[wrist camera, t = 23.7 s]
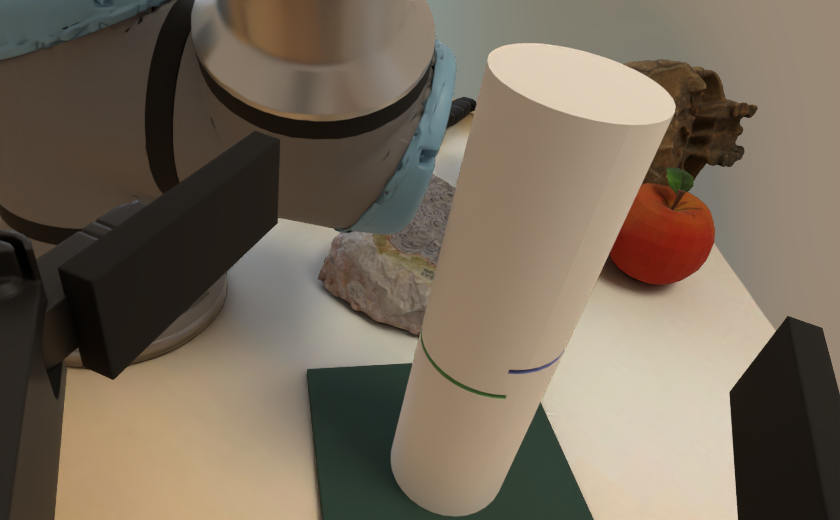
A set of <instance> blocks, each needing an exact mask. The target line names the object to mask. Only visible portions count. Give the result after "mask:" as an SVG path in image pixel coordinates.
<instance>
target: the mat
mask: <svg viewBox="0 0 840 520" xmlns="http://www.w3.org/2000/svg"><path fill="white" fill-rule="evenodd" d="M412 364H413V363H409V364H391V365H373V366H356V367H338V368H320V369H308V370H307V381H308V390H309V400H310V409H311V419H312V428H313V438H314V447H315V457H316V466H317V475H318V485H319V494H320V504H321V513H322V520H594V519H593V517H592V515H591V513H590V511H589V508H588V506H587V504H586V502H585V499H584V497H583V495H582V493H581V491H580V488H579V486H578V484H577V482H576V480H575V477H574V475H573V473H572V471H571V469H570V466H569V464H568V462H567V460H566V457H565V455H564V453H563V451H562V449H561V446H560V444H559V442H558V440H557V438H556V435H555V433H554V431H553V429H552V427H551V424H550V422H549V420H548V418H547V415H546V413H545V411H544V409H543V407H542V404H541V402H540V404H539V406H538V408H537V410H536V413H535V415H534V417H533V419H532V421H531V423H530V426H529V428H528V430H527V432H526V434H525V436H524V439H523V441H522V443H521V445H520V447H519V449H518V451H517V454H516V456H515V458H514V460H513V462H512V464H511V467H510V469H509V471H508V473H507V475H506V477H505V480H504V482H503V484H502V486H501V488H500V490H499V492H498V494H497V495H496V497H495V498H494V500H493V501H492V502H491V503H490V504H489V505H487V506H486V507H485V508H483V509H482V510H480V511H478V512H476V513H473V514H469V515H465V516H444V515H440V514H437V513H433V512H431V511H428V510H426V509H424V508H422V507H420V506H419V505H418V504H416V503H415V502H414V501H412V500H411V499H410V498H409V497H408V496H407V495H406V494H405V493H404V492H403V491H402V489H401V488H400V486H399V485H398V483H397V481H396V479H395V477H394V474H393V472H392V467H391V449H392V445H393V441H394V437H395V433H396V429H397V425H398V421H399V417H400V413H401V408H402V404H403V400H404V396H405V392H406V388H407V384H408V380H409V376H410V372H411V368H412Z"/></svg>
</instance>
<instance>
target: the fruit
mask: <svg viewBox="0 0 840 520" xmlns="http://www.w3.org/2000/svg"><path fill="white" fill-rule="evenodd" d="M667 177H668V182H669V185H670V187H669V186H665V185H660V184H655V183H646V184H643V185H641V186H640V189H639V191H638V193H637V195H636V197H635V199H634V201H633V204H632V206H631V208H630V210H629V212H628V214H627V217H626V219H625V221H624V223H623V225H622V227H621V229H620V232H619V234H618V236H617V238H616V240H615V242H614V245H613V247H612V249H611V251H610V253H609V255H610V257H611V259H612V261H613V262H614V264H615V265H616V266H617V267H618V268H619V269H620V270H622V271H623V272H624V273H626V274H627V275H629V276H631V277H633V278H635V279H637V280H640V281H643V282H646V283H649V284H657V285H664V284H670V283H674V282H678V281H681V280H683V279H684V278H686V277H688V276H690V275H691V274H693V273H694V272H696V271H697V270H699V268H700V267H701V266H702V265H703V263H704V262H705V261H706V260H707V258H708V256H709V254H710V251H711V249H712V246H713V244H714V235H715V228H714V223H713V219H712V216H711V212H710V210H709V209H708V207H707V206H706V205H705V204H704V203H703V202H702V201H701V200H699V199H698V198H697V197H695V196H694V195H692V194H690V193H689V192H688V191H689V190H690V189H691V188H692V187H693V177H692V176H691V175H690V174H689V173H688V172H686V171H684V170H681V169H679V168H667Z"/></svg>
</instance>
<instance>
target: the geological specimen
mask: <svg viewBox="0 0 840 520" xmlns="http://www.w3.org/2000/svg"><path fill="white" fill-rule="evenodd" d="M455 190H456V189H455V188H453V187H452V186H450V185H449V184H448V183H447V182H445V181H443V180H442V179H440V178H438V177H436V176H435V175H434V174H432V176H431V179H430V183H429V185H428V188H427V190H426V193H425V195H424V198H423V200H422V202H421V204H420V206H419V209H418V210H417V212H416V214H415V216H414V217H413V219H412V220H411V221H410V223H409V224H408V225H407V226H406V227H405V228H403V229H402V230H400V231H399V232H396V233H393V234H389V235H380V234H372V233H364V232H356V231H354V232H351V233H342V232H340V234H339V235H338V236H336V237H335V238H334V239H333V241H332V243H331V249H330V252H329V254H328V256H327V257H326V258H325V261H324V265H323V267H322V269H321V271H320V274H319V277H318V279H319V280H321V281H322V282H323V283H324V286H323V287H325V288H326V289H327V290H328V291H329V292H332V293H333V294H334V295H335V296H337V297H341V298H342V299H344V300H345V301H347V302H349V303H350V305H351V307H352V309H354V310H356V311H363V312H365V313H366V314H367V315H368V316H369V317H371V318H372V319H373V320H375V321H377V322H381V323H386V324H389V325H392V326H395V327H398V328H402V329H405V330H408V331H410V332H411V333H412V334H415V335H418V334H420V331H421V327H422V323H423V319H424V315H425V311H426V307H427V303H428V299H429V295H430V291H431V287H432V283H433V279H434V275H435V271H436V267H437V263H438V258H439V254H440V250H441V246H442V242H443V238H444V234H445V230H446V226H447V222H448V218H449V214H450V210H451V206H452V202H453V198H454V194H455Z"/></svg>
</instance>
